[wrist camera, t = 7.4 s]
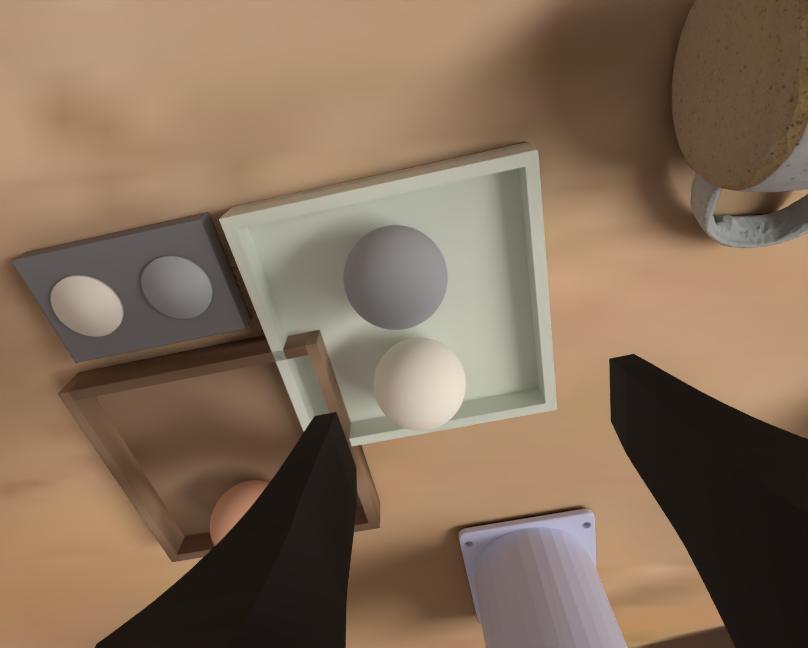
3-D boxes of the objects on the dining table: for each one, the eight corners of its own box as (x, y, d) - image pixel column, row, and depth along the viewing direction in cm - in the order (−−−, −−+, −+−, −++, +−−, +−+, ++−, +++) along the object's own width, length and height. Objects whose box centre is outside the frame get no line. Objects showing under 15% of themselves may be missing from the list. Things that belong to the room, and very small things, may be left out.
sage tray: (546, 388, 25) (557, 409, 23) (316, 430, 26) (312, 453, 24) (526, 142, 19) (537, 149, 18) (231, 207, 20) (218, 219, 18)
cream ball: (465, 385, 24) (478, 441, 20) (385, 399, 24) (384, 458, 21) (452, 313, 22) (464, 362, 18) (365, 330, 22) (361, 381, 19)
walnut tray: (380, 503, 28) (379, 527, 27) (183, 536, 29) (172, 562, 28) (321, 324, 23) (316, 343, 21) (78, 372, 23) (57, 394, 22)
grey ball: (448, 292, 21) (462, 337, 18) (359, 310, 22) (355, 358, 18) (432, 203, 20) (444, 234, 16) (335, 224, 20) (326, 258, 16)
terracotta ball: (306, 509, 28) (294, 575, 24) (239, 521, 28) (217, 587, 24) (284, 457, 26) (267, 521, 22) (211, 470, 26) (184, 535, 22)
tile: (251, 318, 22) (244, 331, 21) (87, 351, 23) (73, 365, 22) (208, 212, 20) (198, 220, 19) (27, 252, 21) (7, 262, 19)
